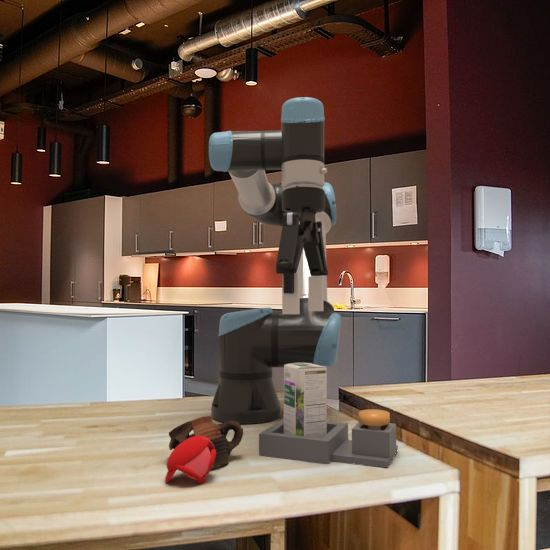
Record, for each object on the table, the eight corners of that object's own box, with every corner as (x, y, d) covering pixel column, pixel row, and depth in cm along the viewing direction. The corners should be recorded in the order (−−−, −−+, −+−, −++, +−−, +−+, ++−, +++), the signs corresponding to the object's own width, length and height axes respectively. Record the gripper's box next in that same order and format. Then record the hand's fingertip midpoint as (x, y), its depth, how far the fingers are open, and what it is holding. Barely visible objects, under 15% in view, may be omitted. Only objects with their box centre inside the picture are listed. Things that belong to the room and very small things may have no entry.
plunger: (355, 449, 85) (355, 414, 85) (362, 440, 89) (362, 408, 89) (387, 452, 83) (386, 417, 83) (392, 444, 87) (392, 410, 87)
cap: (213, 446, 82) (180, 428, 81) (225, 442, 77) (189, 423, 76) (189, 497, 78) (154, 478, 77) (201, 497, 73) (163, 477, 72)
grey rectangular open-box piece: (259, 455, 87) (258, 424, 87) (285, 436, 98) (285, 409, 98) (386, 471, 79) (385, 437, 79) (399, 448, 90) (398, 419, 90)
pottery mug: (184, 480, 77) (165, 427, 80) (177, 488, 85) (161, 440, 88) (257, 449, 82) (237, 400, 85) (244, 459, 90) (227, 414, 93)
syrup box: (282, 447, 92) (281, 363, 92) (311, 442, 94) (310, 361, 95) (298, 456, 87) (297, 367, 87) (328, 451, 89) (327, 365, 90)
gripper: (299, 172, 79) (300, 316, 79) (342, 198, 102) (343, 310, 101) (254, 177, 82) (255, 315, 81) (306, 201, 105) (306, 309, 104)
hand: (304, 312), depth 91 cm, fingers open, 12 cm apart
